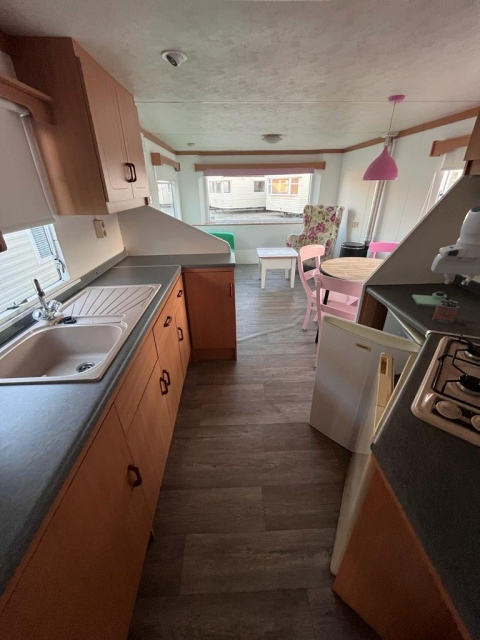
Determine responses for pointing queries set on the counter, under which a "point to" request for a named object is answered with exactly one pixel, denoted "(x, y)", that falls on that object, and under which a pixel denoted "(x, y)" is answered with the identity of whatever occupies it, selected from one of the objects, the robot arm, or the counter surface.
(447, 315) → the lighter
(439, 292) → the tare button
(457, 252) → the robot arm
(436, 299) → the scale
